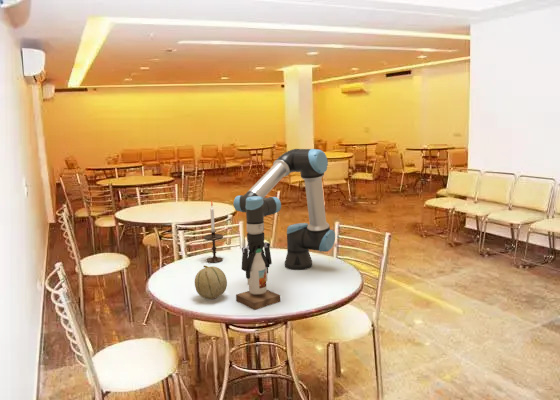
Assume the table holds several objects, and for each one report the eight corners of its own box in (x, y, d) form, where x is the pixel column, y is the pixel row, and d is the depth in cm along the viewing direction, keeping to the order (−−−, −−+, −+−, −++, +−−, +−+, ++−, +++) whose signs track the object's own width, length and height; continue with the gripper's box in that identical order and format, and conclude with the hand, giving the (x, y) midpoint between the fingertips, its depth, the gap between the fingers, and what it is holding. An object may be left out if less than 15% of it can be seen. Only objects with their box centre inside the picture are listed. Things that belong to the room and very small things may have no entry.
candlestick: (208, 257, 289) (204, 199, 283) (226, 258, 287) (223, 198, 281) (202, 263, 278) (199, 202, 272) (221, 263, 277) (218, 202, 271)
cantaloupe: (222, 304, 216) (220, 271, 213) (190, 303, 219) (188, 270, 216) (231, 292, 230) (230, 261, 228) (201, 291, 233) (199, 261, 230)
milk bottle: (253, 296, 213) (251, 251, 209) (246, 290, 220) (244, 247, 216) (269, 292, 216) (268, 248, 213) (262, 287, 223) (260, 244, 220)
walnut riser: (261, 293, 228) (261, 287, 228) (280, 301, 217) (280, 295, 217) (236, 301, 220) (235, 294, 219) (254, 310, 209) (254, 303, 208)
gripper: (241, 237, 204) (243, 290, 208) (279, 229, 217) (280, 279, 220) (231, 234, 210) (233, 286, 214) (268, 227, 222) (270, 275, 226)
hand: (257, 282), depth 217 cm, fingers closed on milk bottle, 7 cm apart
